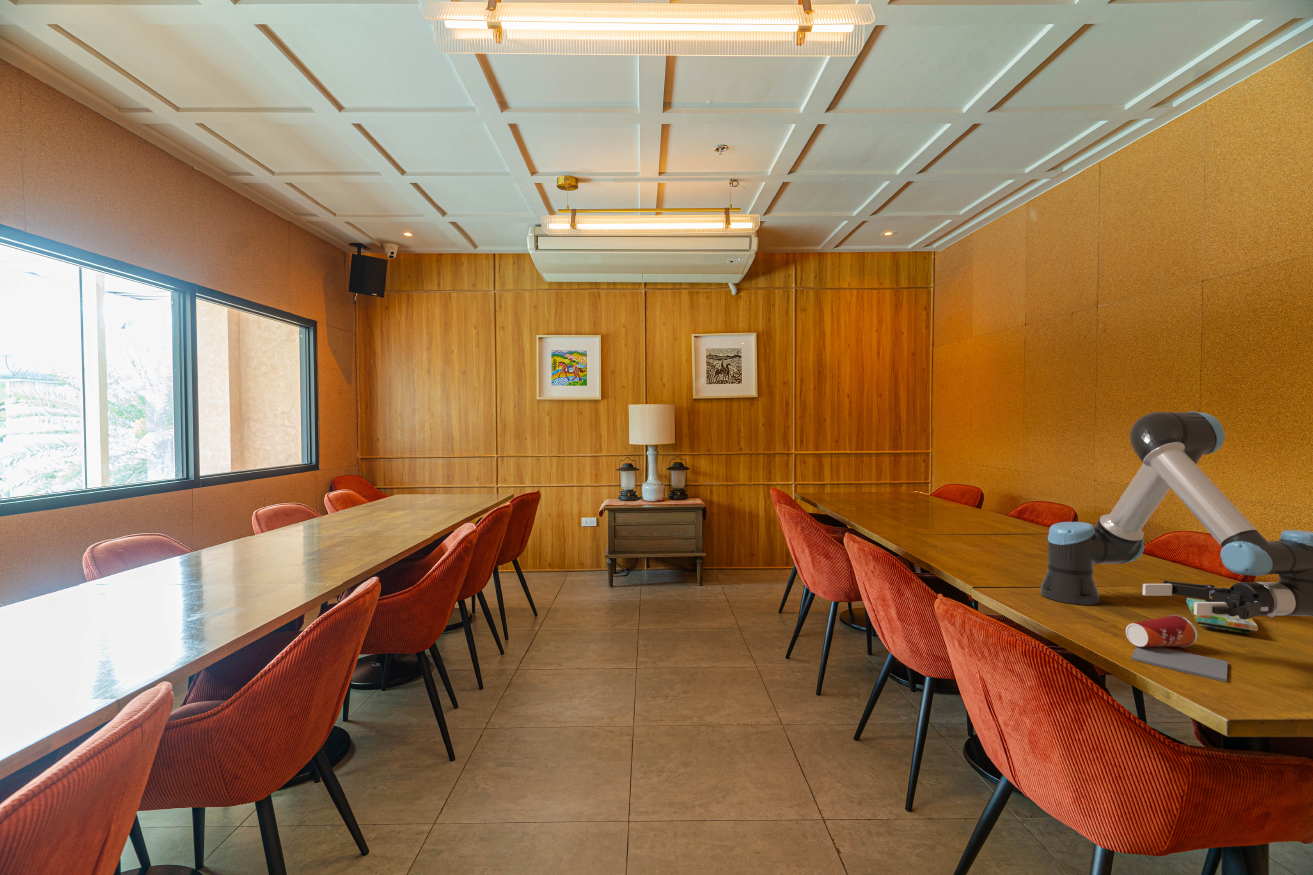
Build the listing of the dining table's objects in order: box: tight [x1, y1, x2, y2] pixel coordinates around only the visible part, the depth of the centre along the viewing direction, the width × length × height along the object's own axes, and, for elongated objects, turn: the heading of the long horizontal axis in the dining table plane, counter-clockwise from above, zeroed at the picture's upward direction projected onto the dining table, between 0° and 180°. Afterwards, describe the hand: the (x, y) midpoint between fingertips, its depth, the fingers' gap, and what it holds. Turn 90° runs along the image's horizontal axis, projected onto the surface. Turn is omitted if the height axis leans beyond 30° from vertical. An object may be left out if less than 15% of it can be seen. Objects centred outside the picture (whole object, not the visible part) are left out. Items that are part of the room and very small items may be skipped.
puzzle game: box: [1185, 597, 1259, 635], centre depth 161 cm, size 12×5×20 cm
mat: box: [1130, 646, 1228, 683], centre depth 135 cm, size 16×13×1 cm
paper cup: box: [1125, 614, 1198, 648], centre depth 144 cm, size 8×8×14 cm
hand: (1168, 598), depth 135 cm, fingers open, 13 cm apart
